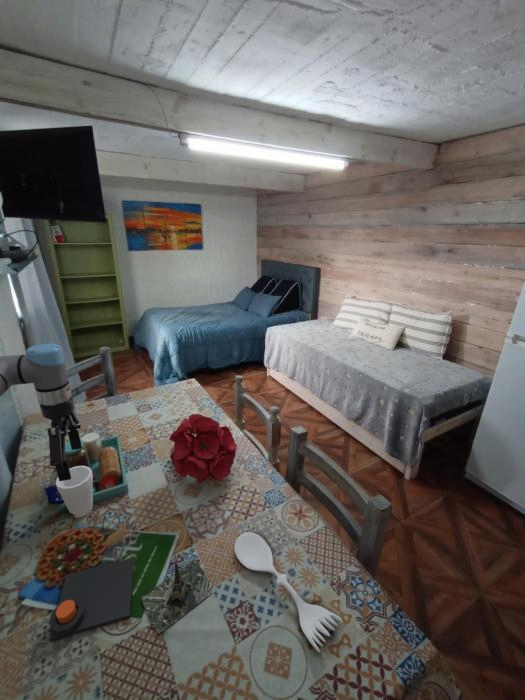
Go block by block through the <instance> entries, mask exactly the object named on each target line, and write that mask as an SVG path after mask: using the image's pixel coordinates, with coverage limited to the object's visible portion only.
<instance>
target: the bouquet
mask: <svg viewBox="0 0 525 700" xmlns="http://www.w3.org/2000/svg"><path fill="white" fill-rule="evenodd" d="M220 424H221V423H220V422H218V421H217V420H215V419H214V418H212V417H208V416H206V415H203V414H199V413H193V414H190V415H189V417H188V418H187V417H186V418H184V419H183V420H182V421H181V422H180V425H179V426H177V428H176V429H175V430H174V431H173V432H172V433H171V434H170V435H169V438H168V440H169V441H171V442H172V443H173V442H174V444H173V445H172V447H170V456H169V458H170V459H171V462H172V465H173V468H174V469H175V472H176V474H177V475H179V477H180V478H179V479H184V478H186V477H187V476H189V477H191V478H193V479H196V483H197V485H201V484H202V483H203V482H206V481H207V480H209V479H211V478H212V479H213V480H215V481H217V482H218V481H219V482H222V481H223V480H224V479H226V478H227V477H229V476H230V475H231V473H232V466H233V465H234V463H235V462H234V461H235V458H236V452H237V448H238V445H237V444H236V441H235V439H234V437H233V434H232V432H231V429H230V428H229V427H228V426H226V425H224V426H223V425H221V426H220Z"/></svg>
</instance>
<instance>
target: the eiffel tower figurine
mask: <svg viewBox="0 0 525 700" xmlns="http://www.w3.org/2000/svg"><path fill="white" fill-rule="evenodd" d="M174 559H175V560H174V574H173V575H170V577H168V578H167V579H165V580H164V581H162V582H161V583H159V584H158V585H157V586H155V587H154V588H152V589H151V590H150V591H149V592H146V594H144V595H143V596H142V597H140V600H141V602H142V605H143V607H144V609H145V611H146V613H147V615H148V618H149V619H150V621H151V623H152V625H153V627H154V629H155V631H156V633H157V635H160V634H161V633H163V632H164V631H166V630H167V629H169V627H171V626H172V625H174V624H175V623H176V622H178V621H179V620H180V619H181V618H182V617H183V616H184V615H186V614H187V613H189V612H190V611H191V610H192V609H193V608H194V607H196V606H197V605H199V604H200V603H202V602H203V601H204V600H205V599H207V598H209V596H212V594H214V593H215V592H217V588H216V587H215V585H214V584H213V583H212V581H211V580H210V579H209V577H208V576H207V575H206V573H205V572H204V570H203V569H202V567H201V565H199V563H198V562H197V560H196V559H194V560H192V561H191V562H189V563H188V564H186V565H185V566H184V567H182V568H181V569H180V570H179V566H178V560H177V558H174Z"/></svg>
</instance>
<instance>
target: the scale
mask: <svg viewBox="0 0 525 700" xmlns="http://www.w3.org/2000/svg"><path fill="white" fill-rule="evenodd" d="M134 573H135V557H131V558H127V559H122V560H119V561H114V562H111V563H106V564H102V565H99V566H95V567H89V568H86V569H83V570H82V569H81V570H77V571H75V572H70V573H66V574H65V577H64V581H63V586H62V589H61V593H60V597H59V600H58V604H57V606H56V607H55V609H54V610H53V611H52V612H51V614H50V617H49V622H48V624H49V628H50V634H49V638H48V640H49V642H54V641H55V642H56V641H58V640H62V639H65V638H67V637H72V636H75V635H79V634H81V633H85V632H87V631H91V630H92V631H93V630H94V629H99V628H102V627H105V626H108V625H112V624H116V623H118V622H119V623H120V622H121V621H125V620H128V619H131V615H132V614H131V613H132V600H133V598H132V597H133V585H134ZM67 600H73V601H74V603H75V606H76V614H75V616H74V617H73V619H72V620H71V621H69V622H68V623H65V624H60V623H59V622H58V619H57V616H56V610H57V608H58V607H59V605H60V604H62V603H63V602H64V601H67Z"/></svg>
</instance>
